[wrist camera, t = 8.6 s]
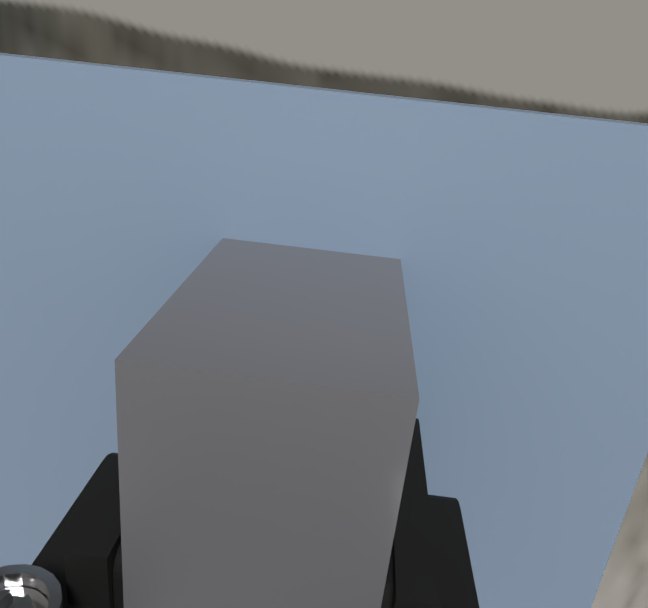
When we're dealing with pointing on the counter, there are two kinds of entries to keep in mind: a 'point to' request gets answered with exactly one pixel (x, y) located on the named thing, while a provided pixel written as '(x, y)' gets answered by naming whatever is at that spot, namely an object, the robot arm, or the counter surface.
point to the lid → (317, 331)
